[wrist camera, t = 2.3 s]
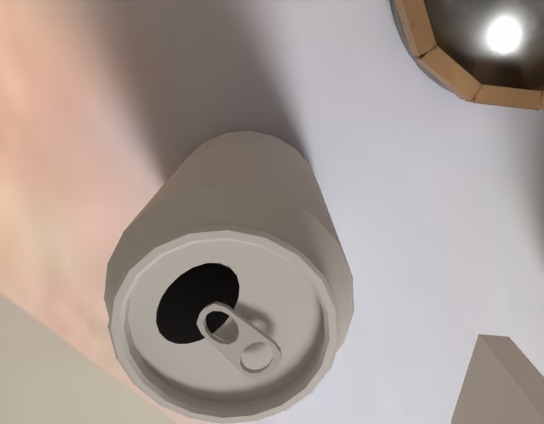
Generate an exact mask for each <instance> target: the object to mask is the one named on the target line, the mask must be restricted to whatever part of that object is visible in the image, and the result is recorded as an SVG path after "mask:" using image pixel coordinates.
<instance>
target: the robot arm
mask: <svg viewBox="0 0 544 424" xmlns="http://www.w3.org/2000/svg"><path fill="white" fill-rule="evenodd" d="M451 423H452V424H544V377H543V376H542V375H541V373H540V372H539V371H538V370H537V369H536V368H535V367H534V365H533V364H532V363H531V362H530V361H529V360H528V358H527V357H526V356H525V355H524V354H523V353H522V351H521V350H520V349H519V348H518V347H517V346H516V345H515V343H514V342H513V341H512V340H511V339H510V338H509V337H504V336H493V335H481V334H479V335H478V338H477V341H476V344H475V347H474V351H473V354H472V357H471V360H470V363H469V366H468V370H467V373H466V376H465V379H464V382H463V385H462V388H461V392H460V395H459V398H458V401H457V404H456V407H455V410H454V414H453V417H452V420H451Z"/></svg>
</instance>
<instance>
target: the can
mask: <svg viewBox="0 0 544 424" xmlns="http://www.w3.org/2000/svg"><path fill="white" fill-rule="evenodd" d="M104 300H105V304H106V308H107V312H108V315H109V324H108V328H109V332H110V336H111V340H112V344H113V347H114V351H115V355H116V358H117V360H118V361H119V363H120V364H121V366H122V367H123V369H124V370H125V371H126V373H127V374H128V376H129V377H130V379H131V380H132V382H133V383H134V384H135V385H136V386H137V387H138V388H139V389H141V390H142V391H143V392H144V393H146V394H147V395H148V396H149V397H150V398H152V399H153V400H154V401H155V402H157V403H158V404H159V405H161V406H164V407H166V408H168V409H170V410H173V411H175V412H177V413H179V414H182V415H184V416H186V417H188V418H193V419H198V420H204V421H210V422H216V423H222V424H223V423H236V422H249V421H257V420H260V419H263V418H266V417H269V416H271V415H274V414H277V413H280V412H283V411H286V410H288V409H289V408H291V407H292V406H293V405H295V404H296V403H298V402H299V401H301V400H302V399H303V398H305V397H306V396H308V395H309V394H311V393H312V392H313V391H314V390H315V388H316V387H317V386H318V384H319V383H320V382H321V380H322V379H323V378H324V376H325V375H326V374H327V372H328V371H329V370H330V369H331V367H332V364H333V360H334V357H335V354H336V352H337V351H338V350H339V348H340V347H341V346H342V344H343V343H344V340H345V337H346V334H347V331H348V328H349V325H350V322H351V318H352V315H353V312H354V299H353V276H352V273H351V271H350V268H349V265H348V263H347V260H346V257H345V255H344V252H343V249H342V247H341V244H340V241H339V238H338V236H337V233H336V230H335V228H334V225H333V222H332V220H331V217H330V214H329V212H328V209H327V206H326V203H325V201H324V198H323V195H322V193H321V190H320V187H319V185H318V182H317V180H316V178H315V175H314V173H313V171H312V168H311V166H310V165H309V163H308V162H307V161H306V160H305V159H304V158H303V157H302V156H301V154H300V153H299V152H298V151H297V150H296V149H295V148H294V147H292V146H291V145H289V144H287V143H286V142H284V141H282V140H280V139H279V138H277V137H275V136H273V135H269V134H264V133H260V132H255V131H250V130H248V131H238V132H228V133H223V134H221V135H219V136H217V137H215V138H212V139H210V140H208V141H206V142H203V143H202V144H201V145H200V146H199V147H198V148H197V149H196V150H195V151H194V152H192V153H191V154H190V155H189V156H188V157H187V158H186V159H185V160H184V161H183V163H182V164H181V165H180V166H179V167H178V168H177V170H176V171H175V172H174V173H173V174H172V176H171V177H170V178H169V179H168V180H167V181H166V183H165V184H164V185H163V186H162V187H161V188H160V190H159V191H158V192H157V193H156V194H155V195H154V197H153V198H152V199H151V200H150V201H149V203H148V204H147V205H146V206H145V207H144V208H143V210H142V211H141V212H140V213H139V214H138V215H137V217H136V218H135V219H134V220H133V221H132V223H131V224H130V225H129V226H128V227H127V228H126V230H125V231H124V232H123V234H122V236H121V238H120V240H119V242H118V244H117V246H116V248H115V250H114V252H113V254H112V256H111V258H110V260H109V262H108V265H107V275H106V285H105V294H104Z"/></svg>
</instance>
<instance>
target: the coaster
mask: <svg viewBox="0 0 544 424" xmlns="http://www.w3.org/2000/svg"><path fill="white" fill-rule="evenodd" d="M391 8H392V12H393V16H394V20H395V24H396V27H397V30H398V32H399V35H400V37H401V40H402V42H403V44H404V46H405V47H406V49H407V51H408V53H409V55H410V56H411V57H412V59H413V60H414V61H415V63H416V64H417V65H418V67H419V68H420V69H421V70H422V71H423V72H424V73H425V74H426V75H427V76H428V77H429V78H430V79H432V80H433V81H434V82H436V83H437V84H439V85H440V86H441V87H443V88H445V89H447V90H448V91H450V92H452V93H454V94H456V95H457V96H458V97H459V98H460V99H463V100H465V101H468V102H473V103H480V104H488V105H497V106H506V107H514V108H523V109H532V110H539V109H544V0H391Z"/></svg>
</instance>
